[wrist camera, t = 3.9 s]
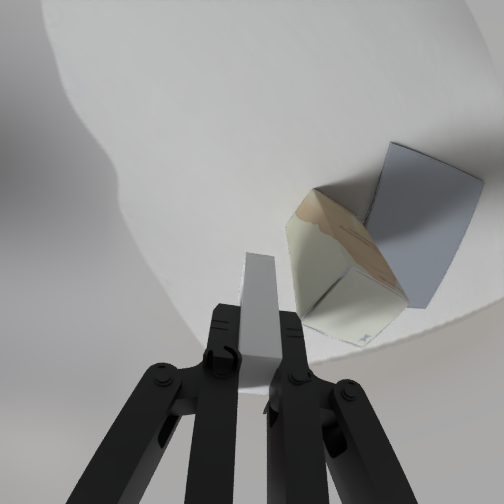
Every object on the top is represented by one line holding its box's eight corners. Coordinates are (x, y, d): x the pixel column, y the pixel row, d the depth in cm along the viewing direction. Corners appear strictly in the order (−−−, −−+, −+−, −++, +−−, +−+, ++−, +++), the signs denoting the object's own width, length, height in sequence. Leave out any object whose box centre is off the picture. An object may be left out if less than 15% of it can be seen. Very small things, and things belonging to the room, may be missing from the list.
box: (359, 217, 22) (416, 305, 13) (329, 254, 24) (364, 352, 15) (309, 185, 21) (351, 266, 12) (280, 227, 23) (295, 326, 14)
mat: (390, 142, 19) (392, 143, 19) (482, 181, 20) (484, 182, 19) (335, 299, 27) (336, 301, 27) (424, 306, 28) (425, 308, 28)
